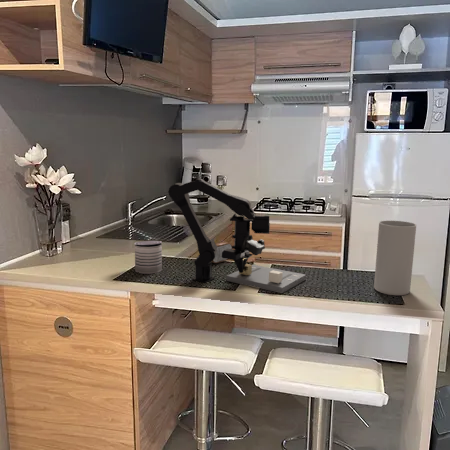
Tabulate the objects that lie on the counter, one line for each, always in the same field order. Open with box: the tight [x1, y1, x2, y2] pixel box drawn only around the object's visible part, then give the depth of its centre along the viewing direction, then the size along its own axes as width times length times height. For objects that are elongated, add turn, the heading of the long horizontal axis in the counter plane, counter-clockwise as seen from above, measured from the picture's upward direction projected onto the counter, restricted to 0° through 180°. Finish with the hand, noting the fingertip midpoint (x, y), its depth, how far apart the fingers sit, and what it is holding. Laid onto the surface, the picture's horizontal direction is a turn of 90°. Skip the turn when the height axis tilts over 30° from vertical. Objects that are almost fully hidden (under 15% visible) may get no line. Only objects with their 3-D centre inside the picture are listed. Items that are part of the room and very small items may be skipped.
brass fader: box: [239, 263, 253, 275], centre depth 179 cm, size 3×4×4 cm
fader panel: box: [226, 264, 307, 294], centre depth 179 cm, size 20×24×2 cm
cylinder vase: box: [373, 220, 417, 296], centre depth 168 cm, size 12×12×25 cm
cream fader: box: [269, 270, 283, 283], centre depth 170 cm, size 3×4×4 cm
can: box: [133, 240, 163, 275], centre depth 190 cm, size 11×11×12 cm
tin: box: [210, 241, 233, 264], centre depth 205 cm, size 15×3×8 cm, turn 141°
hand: (241, 272), depth 177 cm, fingers closed
